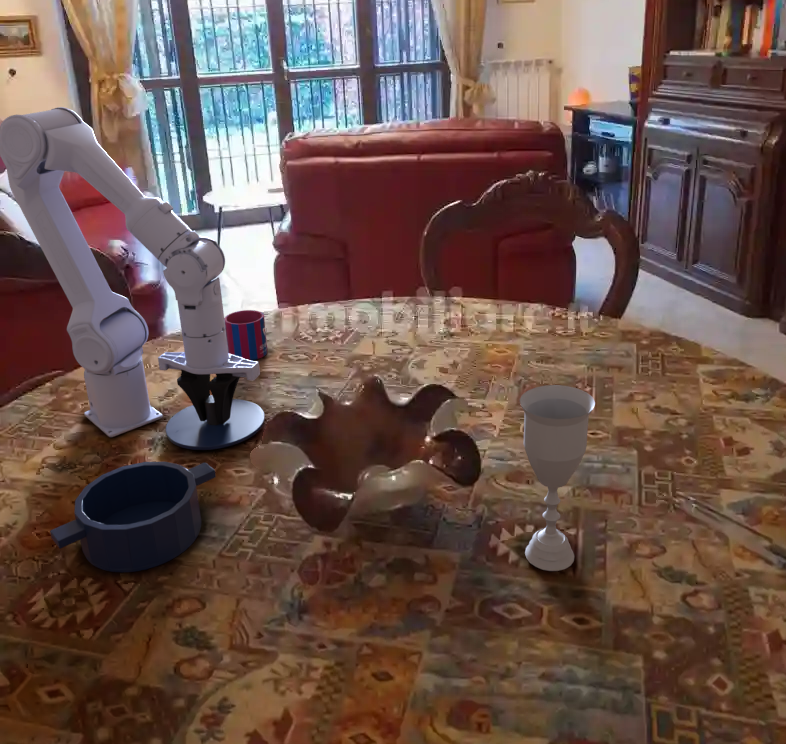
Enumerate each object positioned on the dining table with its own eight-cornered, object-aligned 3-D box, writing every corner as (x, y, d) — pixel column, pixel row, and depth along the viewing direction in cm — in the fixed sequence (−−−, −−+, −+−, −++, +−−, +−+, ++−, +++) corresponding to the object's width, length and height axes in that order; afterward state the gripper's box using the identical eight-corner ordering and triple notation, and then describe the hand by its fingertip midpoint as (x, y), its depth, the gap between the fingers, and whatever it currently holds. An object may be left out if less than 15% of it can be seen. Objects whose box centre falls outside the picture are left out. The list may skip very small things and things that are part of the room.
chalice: (541, 586, 74) (549, 426, 68) (501, 547, 80) (505, 396, 73) (598, 561, 77) (611, 406, 71) (556, 525, 83) (564, 379, 77)
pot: (41, 545, 83) (31, 503, 81) (188, 478, 94) (183, 441, 92) (85, 604, 74) (76, 559, 72) (242, 522, 85) (237, 482, 83)
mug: (261, 362, 126) (257, 324, 124) (204, 361, 127) (199, 324, 125) (272, 346, 132) (268, 310, 130) (217, 345, 133) (212, 309, 131)
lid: (149, 428, 106) (144, 399, 105) (232, 396, 115) (229, 368, 113) (197, 465, 97) (192, 434, 95) (284, 427, 105) (281, 398, 104)
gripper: (266, 323, 102) (274, 411, 107) (173, 314, 106) (185, 400, 111) (241, 343, 96) (251, 436, 100) (143, 333, 100) (158, 423, 105)
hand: (215, 419), depth 105 cm, fingers closed on lid, 2 cm apart
